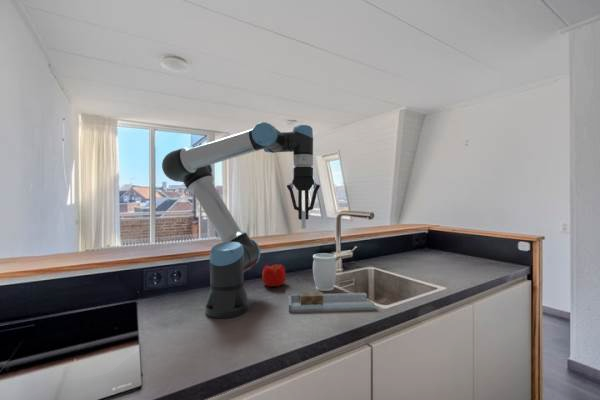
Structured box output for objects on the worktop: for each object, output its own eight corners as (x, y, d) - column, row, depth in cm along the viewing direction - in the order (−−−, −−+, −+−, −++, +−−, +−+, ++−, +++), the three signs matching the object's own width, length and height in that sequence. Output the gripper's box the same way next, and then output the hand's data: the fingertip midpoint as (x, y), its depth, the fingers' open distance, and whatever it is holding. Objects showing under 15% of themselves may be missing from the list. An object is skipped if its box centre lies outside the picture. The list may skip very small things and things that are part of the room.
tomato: (265, 290, 120) (265, 269, 120) (260, 282, 131) (260, 263, 131) (289, 287, 123) (289, 267, 123) (282, 280, 135) (282, 261, 134)
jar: (335, 295, 114) (335, 258, 114) (310, 293, 116) (310, 257, 116) (337, 286, 125) (337, 253, 124) (314, 285, 127) (314, 252, 126)
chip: (300, 307, 99) (300, 296, 99) (300, 303, 103) (300, 292, 103) (312, 307, 100) (312, 296, 99) (310, 302, 104) (310, 292, 103)
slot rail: (288, 314, 96) (288, 306, 96) (288, 302, 107) (288, 294, 107) (374, 312, 97) (374, 303, 97) (365, 300, 108) (365, 292, 108)
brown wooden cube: (311, 307, 100) (311, 295, 100) (310, 302, 104) (310, 292, 104) (323, 306, 100) (323, 295, 100) (321, 302, 104) (321, 291, 104)
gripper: (286, 165, 103) (286, 229, 103) (321, 165, 103) (321, 229, 104) (286, 167, 110) (286, 227, 111) (318, 167, 111) (319, 226, 111)
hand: (303, 228), depth 107 cm, fingers closed
